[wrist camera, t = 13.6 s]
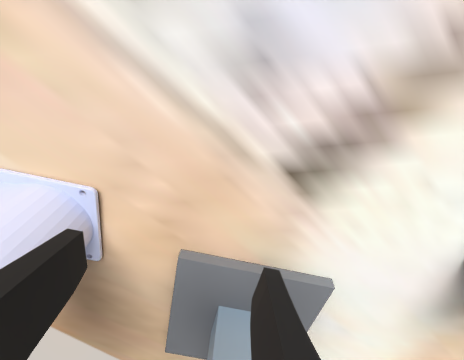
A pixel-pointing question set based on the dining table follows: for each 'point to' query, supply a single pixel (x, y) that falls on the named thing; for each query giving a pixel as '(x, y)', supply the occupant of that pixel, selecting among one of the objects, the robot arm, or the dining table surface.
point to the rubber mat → (228, 297)
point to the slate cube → (230, 335)
